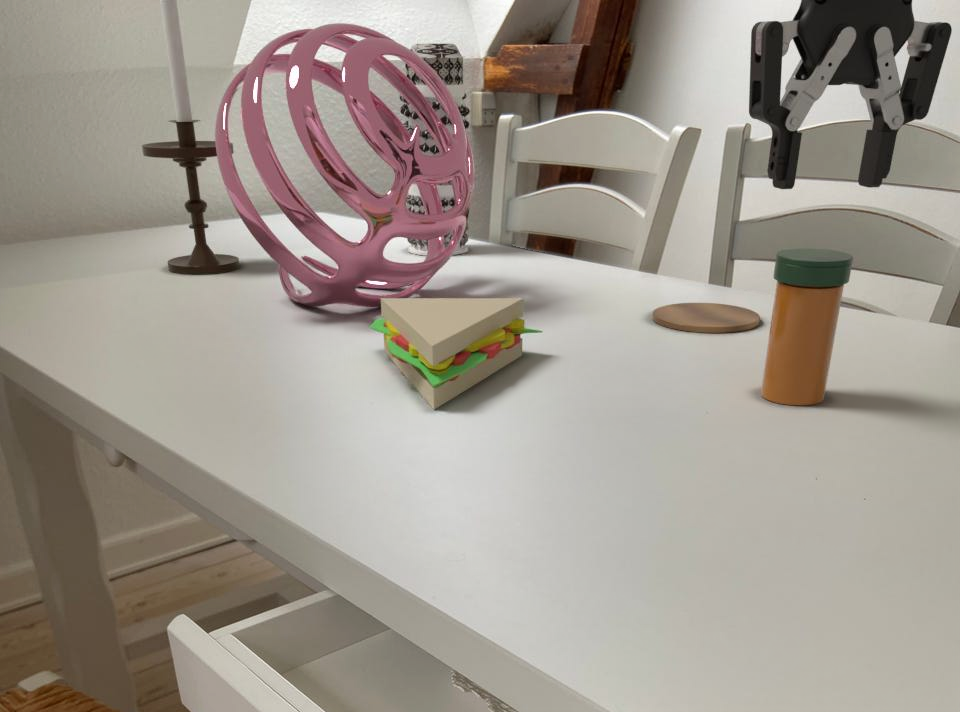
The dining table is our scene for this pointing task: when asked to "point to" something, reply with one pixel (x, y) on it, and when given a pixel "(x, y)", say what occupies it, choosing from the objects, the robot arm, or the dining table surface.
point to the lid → (813, 267)
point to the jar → (800, 343)
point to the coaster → (706, 317)
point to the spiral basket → (384, 137)
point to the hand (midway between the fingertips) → (826, 186)
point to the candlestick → (187, 155)
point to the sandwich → (450, 340)
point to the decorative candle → (451, 72)
